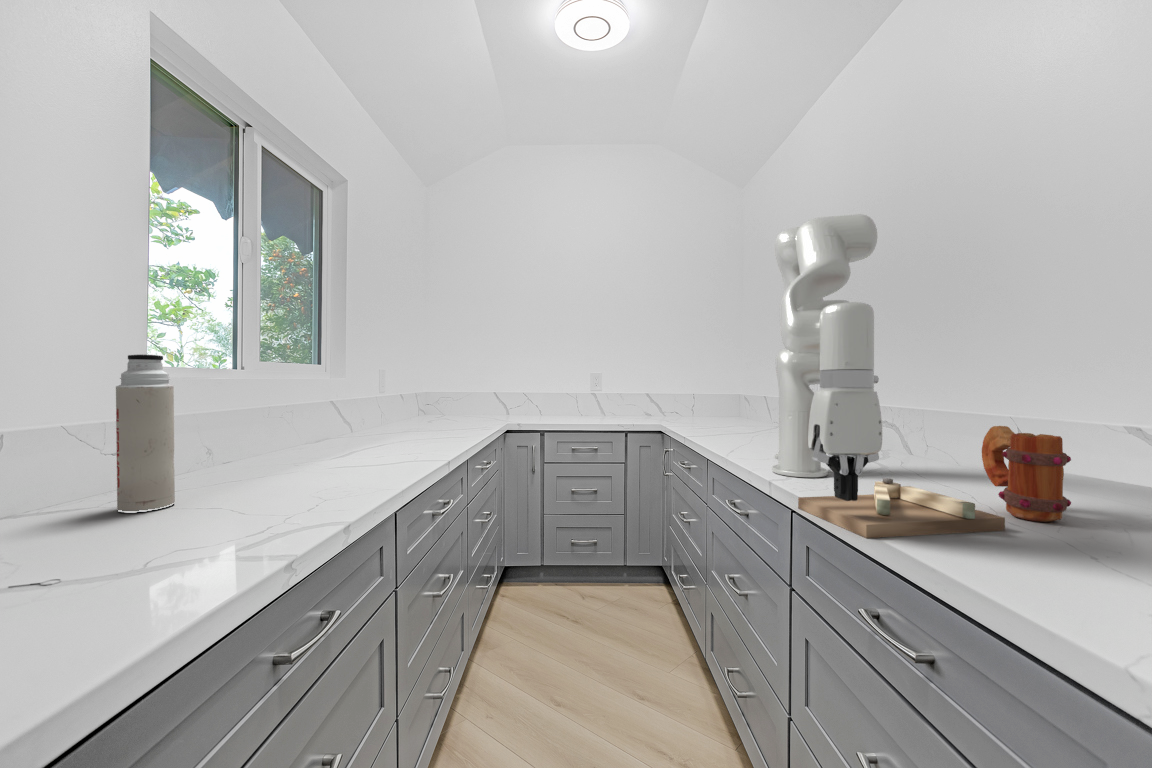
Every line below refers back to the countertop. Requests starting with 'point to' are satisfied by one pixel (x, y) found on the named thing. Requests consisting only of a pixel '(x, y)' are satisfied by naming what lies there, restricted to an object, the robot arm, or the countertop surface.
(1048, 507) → the mug
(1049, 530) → the countertop surface
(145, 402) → the thermos bottle
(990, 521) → the board
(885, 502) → the tong arm
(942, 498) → the tongs fixed
